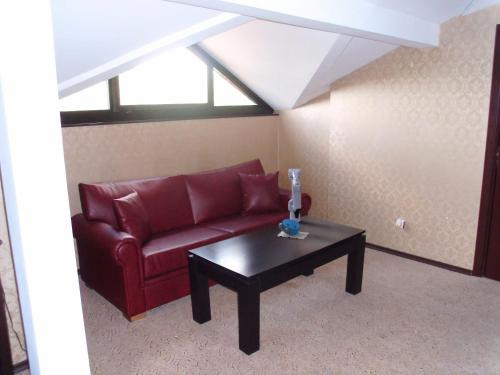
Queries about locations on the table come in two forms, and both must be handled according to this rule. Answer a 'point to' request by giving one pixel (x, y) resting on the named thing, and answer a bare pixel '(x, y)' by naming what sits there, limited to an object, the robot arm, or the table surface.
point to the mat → (300, 235)
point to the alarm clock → (290, 227)
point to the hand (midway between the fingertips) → (296, 218)
